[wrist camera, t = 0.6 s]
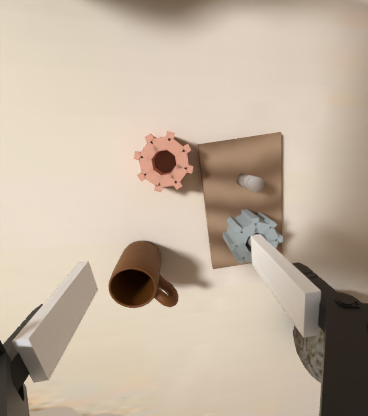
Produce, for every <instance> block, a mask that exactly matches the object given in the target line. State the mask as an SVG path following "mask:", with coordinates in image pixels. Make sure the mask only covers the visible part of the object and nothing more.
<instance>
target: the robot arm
mask: <svg viewBox="0 0 368 416" xmlns="http://www.w3.org/2000/svg"><path fill="white" fill-rule="evenodd" d="M251 252H252V266H253V267H254V268H255V270H256V271H257V273H258V274H259V275H260V277H261V278H262V280H263V281H264V283H265V284H266V285H267V287H268V288H269V290H270V291H271V292H272V294H273V295H274V297H275V298H276V300H277V301H278V302H279V304H280V305H281V307H282V308H283V309H284V311H285V312H286V314H287V315H288V317H289V318H290V319H291V321H292V322H293V324H294V325H295V326H296V328H297V329H298V331H299V332H300V334H301V335H302V336H303V338H304V337H310V336H316V335H318V328H319V327H320V328H321V329H322V331H323V332H324V333H325V336H324V348H323V349H324V351H323V367H322V382H321V397H320V413H319V416H368V304H365V303H361V302H360V301H359V300H357V299H356V298H354V297H352V296H350V295H347V294H344V293H338V292H336V291H335V290H334V289H333V288H332V287H331V286H329V285H328V284H327V283H326V282H325V281H323V280H322V279H321V278H320V277H318V275H316V274H315V273H313V271H312V270H311V269H309V268H308V267H307V266H305V265H303V264H301V263H291V262H290V261H288V260H287V259H286V258H285V257H284V256H283V255H282V254H281V253H280V252H279V251H278V250H277V249H276V248H275V247H273V246H272V245H271V244H270V243H269V242H268V241H267V240H266V239H265V238H264V237H263V236H262V235H261V234H256V235H251ZM97 290H98V289H97V286H96V282H95V279H94V276H93V273H92V270H91V267H90V264H89V261H85V262H79V263H78V264H77V265H76V266H75V268H74V269H73V270H72V271H71V272H70V274H69V275H68V276H67V277H66V278H65V279H64V281H63V282H62V283H61V284H60V285H59V287H58V288H57V289H56V290H55V291H54V292H53V294H52V295H51V296H50V297H49V298H48V299H47V301H46V302H45V303H44V304H41V305H40V306H38V307H37V308H36V309H35V310H33V311H32V312H31V313H30V314H29V316H28V317H27V318H26V320H24V321H23V322H22V324H21V325H20V326H19V327H18V328H17V329H16V330H15V332H14V333H13V334H12V335H11V336H10V337H9V338H8V339H7V341H6V342H5V343H4V344H2V343H1V341H0V416H29V408H28V399H27V390H26V386H25V384H24V381H25V380H26V378H27V377H28V375H30V377H31V378H32V380H33V382H39V381H45V380H49V379H50V377H51V375H52V373H53V371H54V369H55V368H56V366H57V364H58V362H59V360H60V358H61V357H62V355H63V353H64V351H65V349H66V347H67V345H68V344H69V342H70V340H71V338H72V336H73V334H74V333H75V331H76V329H77V327H78V325H79V323H80V322H81V320H82V318H83V316H84V314H85V312H86V311H87V309H88V307H89V305H90V303H91V301H92V299H93V298H94V296H95V294H96V292H97Z"/></svg>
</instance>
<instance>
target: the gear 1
mask: <svg viewBox="0 0 368 416" xmlns="http://www.w3.org/2000/svg"><path fill="white" fill-rule="evenodd" d="M174 135H175V133H172V132H169V131H167V134H166V137H160V138H155V137H154V136H153V135H152V134H149V135H148V136H146V137H144V138H145V140H146V141H147V144H146V145H145V147H144V148H143V150H142V151H141V152H136V151H135V155H134V159H136V160H139V163H140V167H141V173H140V174H138V175H137V176H138V177H139V179H140V180H141V181H143V180H144V179H147V180H148V181H150V182H151V183H152V184H154V185H155V190H154V191H159V192H161V191H162V188H163V187H168V186H174V187H175V188H176V190H177V189H179V188H180V187H182V183H181V180H182V178H183V177H184V176H185V174H186V173H191V174H192V171H193V166H192V165H189V164H188V157H187V153H188V152H190V151H191V148H190V147H189V145H188V144H186V145H185V146H182V145H181V144H180V143H178V142H177V141H176V140H174ZM167 150H168V151H169V152H171V153H172V154H173V155H175V160H176V165H175V167H174V168H173V170H172V171H170V172H164V173H163V172H161V171H160V170H159V169H157V168H156V165H155V157H156V156H157V154H158V153H159V152H161V151H167ZM182 151H183V152H182Z"/></svg>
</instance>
